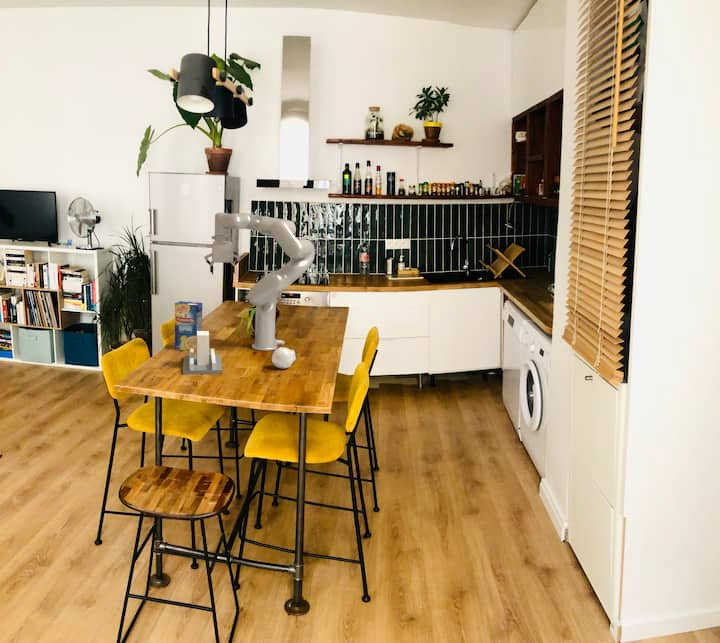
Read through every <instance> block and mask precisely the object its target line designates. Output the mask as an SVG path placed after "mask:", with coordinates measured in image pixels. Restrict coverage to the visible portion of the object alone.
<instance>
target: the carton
mask: <svg viewBox="0 0 720 643" xmlns="http://www.w3.org/2000/svg"><path fill="white" fill-rule="evenodd" d="M195 352H196V355H197V365H209V355H210V331H209V330H202V331H197V338H196V351H195Z"/></svg>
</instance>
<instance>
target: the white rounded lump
mask: <svg viewBox="0 0 720 643" xmlns="http://www.w3.org/2000/svg"><path fill="white" fill-rule="evenodd" d="M296 360H298V355H297V351H296V350H295V349H289V348H288V347H284V346H282V347H281V346H280V347H278V348H277V349H275V350H273V352H272V354H271V362H272V363H273V365H274V367H276V368H278V369H283V370H285V369H287V368H289V367H290V366H292V364H293V362H295V361H296Z"/></svg>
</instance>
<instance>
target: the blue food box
mask: <svg viewBox="0 0 720 643" xmlns="http://www.w3.org/2000/svg"><path fill="white" fill-rule="evenodd" d="M197 331H203V302H197V301H196V302H194V301H183V300H180V301H178V302H175V303H174V350H176V349H177V350H179V351H188V350H189V352H190V349H194V352H196V338H197Z"/></svg>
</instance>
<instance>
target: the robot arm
mask: <svg viewBox="0 0 720 643" xmlns="http://www.w3.org/2000/svg"><path fill="white" fill-rule="evenodd" d="M245 229H246V230H250V231H257V232H259V233H260V234H261V235H265V236H272V237H273V239H274V240H275V242H276V243H277V244H278V245H279V247H280V248H281V249H282V250H283V251H284V253H285V254H286V256H288V257H289V258H291V260H289V261H288V262H286V264H285V265H283V266H282V267H281V268H279V269H278V270H275V271H270V272H269V273H267V274H266V275H264V276H263V277H262V278H261V279H260V280H258V281H257V282H256V283H255V284H253V286H252V287H250V289H249V291H248V293H247V299H248V302H249V304H252V305H253V306H255V307H256V308H255V321H254V322H255V323H254V324H255V325H254V326H255V327H254V334H255V335H254V343H253V344H251V348H252V349H253V350H256V351H266V352H268V351H275V350H276V349H278V348H279V345H285V340H282V339H276V312H277V311H276V310H277V303H278V302H277V301H278V292H281V291H284V290H286V289H287V288H289V287H290V286H291V284H293V283H294V282H295V281H297V279H299V277H300V276H302V275H303V274H304V273H305V272H306V271H308V269H309V268H310V267H311V265H312V264H313V263H314V260H315V254H316V250H315V247H314V244H313V243H312V242H311V241H310V240H309V239H306V238H299V239H297V237H295V234H296V233H297V232H296V231H297V228H296V224H295V223H294V222H293V221H291V220H289V219H284V218H283V219H282V218H277V217H270V216H264V215H258V214H252V213H245V212H240V213H239V212H236V213H229V212H228V213H227V212H216V213H215V215H214V235H212V236H211V240H214V241H213V242H212V249H211V252H210V253H209V254H206V255H205V256H203V258H204V260H205V263H207V264H208V265H209V269H210V270H209V273H211V275H214V264H215V263H217V264H218V263H219V264H220V263H222V264H223V263H227V264H229V263H230V264H231V275H234V274H235V272H236V269H235V267H236V266H237V265H238V264H239V262H240V261H241V259H242V258H241V256H239V255H237V254H235V253H234V245H233V242H232V240H231V236H232V235H231V233H232V232H231V230H236V231H237V230H245ZM210 257H211V261H210V260H209V259H208V258H210ZM234 258H235V259H236V261H234Z"/></svg>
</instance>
